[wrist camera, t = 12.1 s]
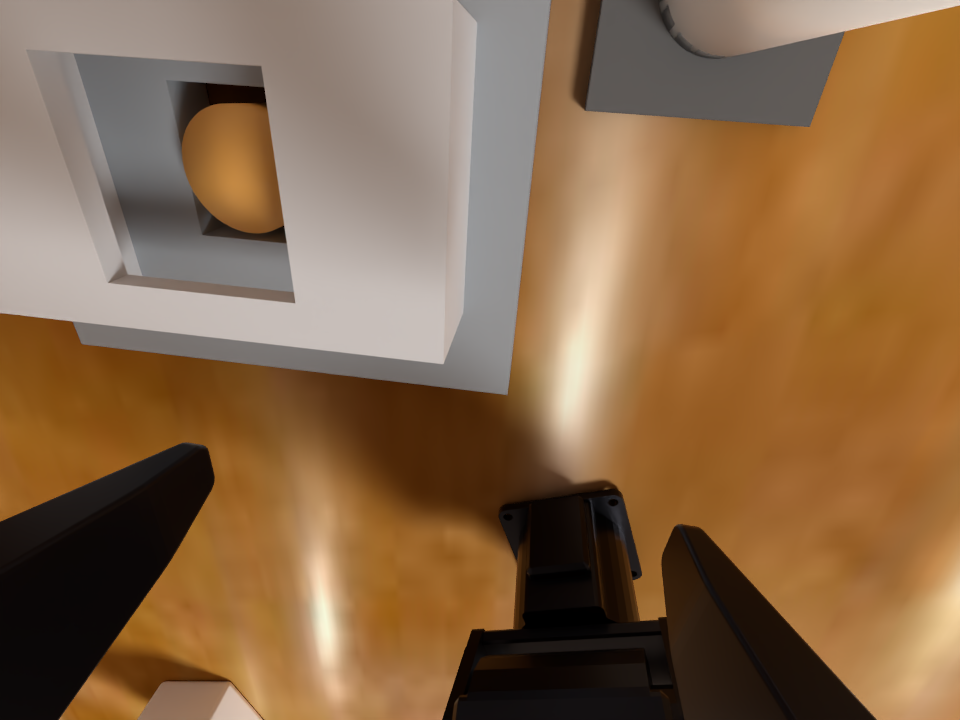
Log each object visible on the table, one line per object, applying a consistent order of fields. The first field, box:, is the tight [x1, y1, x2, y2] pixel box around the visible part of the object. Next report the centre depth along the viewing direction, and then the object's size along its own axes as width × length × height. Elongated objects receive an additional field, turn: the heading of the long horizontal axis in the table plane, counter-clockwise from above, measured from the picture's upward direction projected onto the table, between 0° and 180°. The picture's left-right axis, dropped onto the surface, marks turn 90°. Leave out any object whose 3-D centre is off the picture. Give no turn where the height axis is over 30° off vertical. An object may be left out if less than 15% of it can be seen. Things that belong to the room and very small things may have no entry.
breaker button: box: [182, 103, 284, 233], centre depth 17 cm, size 4×4×2 cm
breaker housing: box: [0, 0, 551, 395], centre depth 15 cm, size 16×19×6 cm
